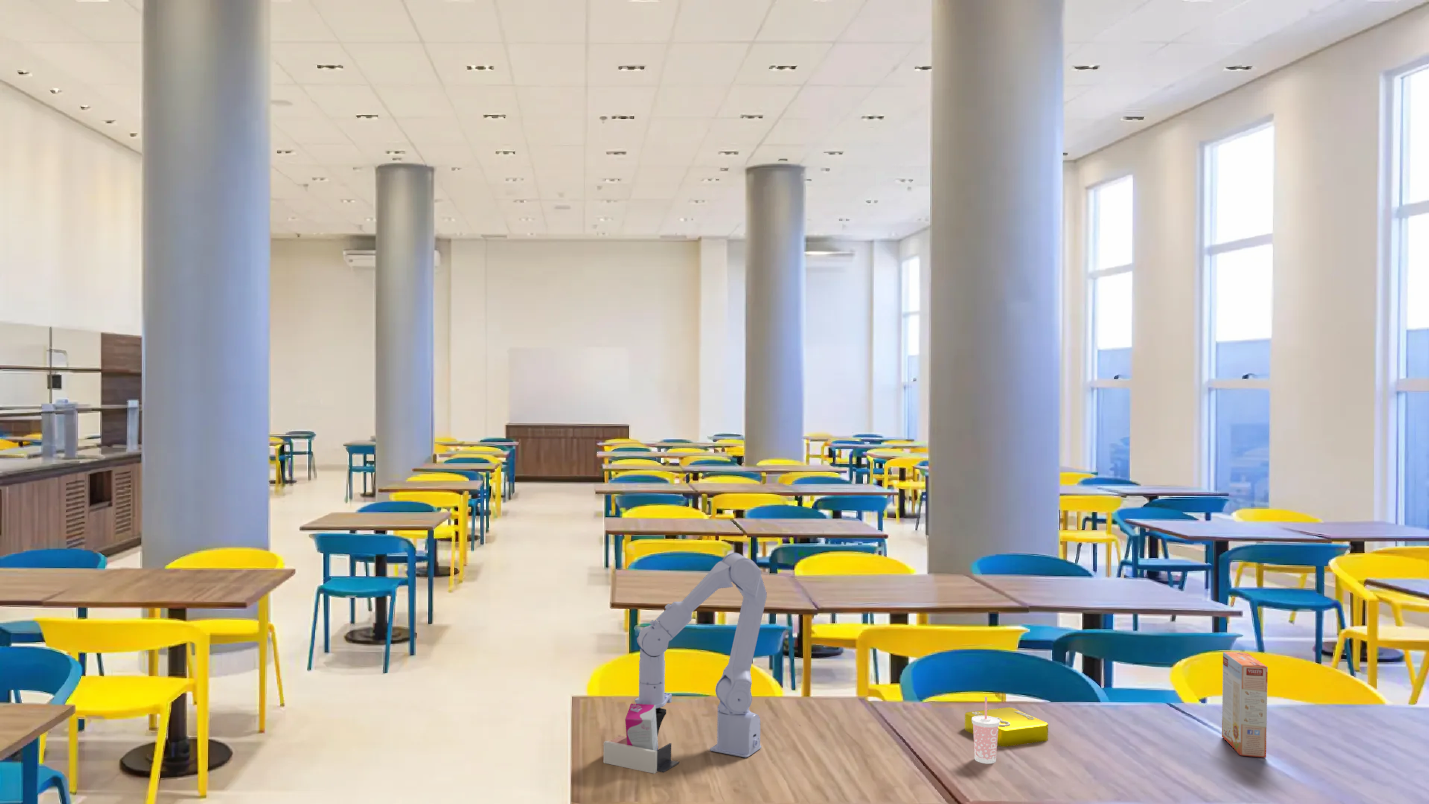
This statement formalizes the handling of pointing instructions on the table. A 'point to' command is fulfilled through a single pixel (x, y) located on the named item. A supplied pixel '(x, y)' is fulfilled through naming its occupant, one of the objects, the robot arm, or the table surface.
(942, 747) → the table surface
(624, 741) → the pink rectangular block
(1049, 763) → the table surface
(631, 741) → the supplement box
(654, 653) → the robot arm
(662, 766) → the bookend
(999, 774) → the table surface
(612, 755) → the shelf wall
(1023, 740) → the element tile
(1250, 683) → the cracker box
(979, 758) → the beverage cup
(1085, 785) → the table surface
